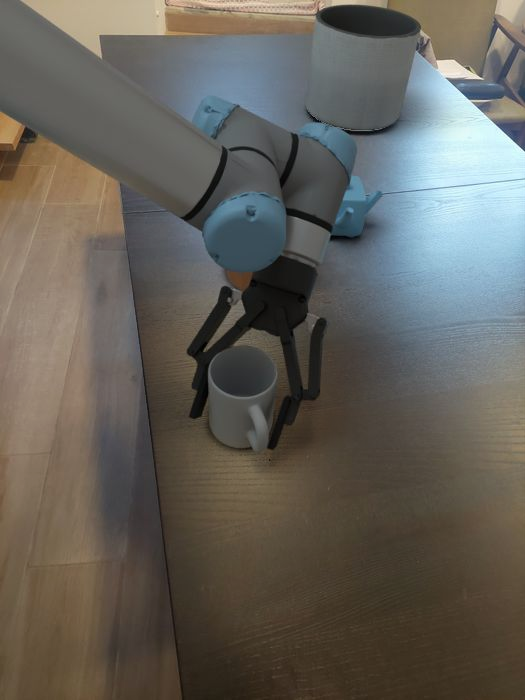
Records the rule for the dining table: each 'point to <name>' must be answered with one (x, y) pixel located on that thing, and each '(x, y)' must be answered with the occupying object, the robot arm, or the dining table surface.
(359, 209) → the teapot
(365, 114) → the planter
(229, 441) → the mug
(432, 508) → the dining table surface
